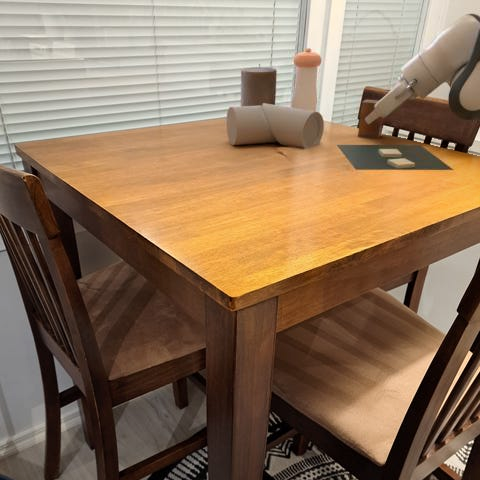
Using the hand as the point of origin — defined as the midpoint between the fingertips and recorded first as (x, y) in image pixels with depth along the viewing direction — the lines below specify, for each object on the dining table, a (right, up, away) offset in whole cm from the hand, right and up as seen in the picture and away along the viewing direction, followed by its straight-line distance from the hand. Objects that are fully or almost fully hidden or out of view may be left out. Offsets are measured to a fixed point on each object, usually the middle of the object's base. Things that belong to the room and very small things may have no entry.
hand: (369, 119), depth 122 cm
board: (+1, -15, -13) cm, 20 cm away
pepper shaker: (-15, +3, +13) cm, 20 cm away
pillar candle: (-27, +6, +18) cm, 33 cm away
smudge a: (+1, -13, -13) cm, 19 cm away
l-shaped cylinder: (-23, -8, -3) cm, 25 cm away
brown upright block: (0, -4, +2) cm, 5 cm away
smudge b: (+1, -18, -20) cm, 27 cm away
